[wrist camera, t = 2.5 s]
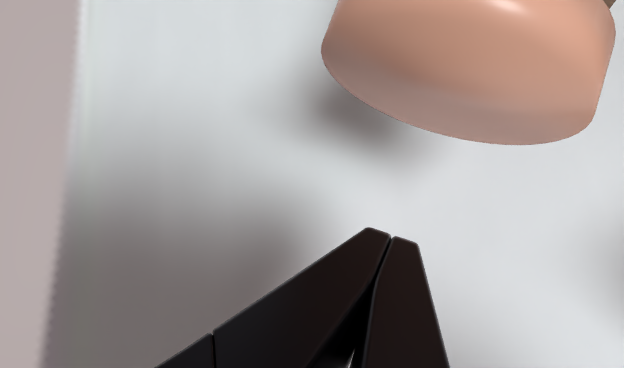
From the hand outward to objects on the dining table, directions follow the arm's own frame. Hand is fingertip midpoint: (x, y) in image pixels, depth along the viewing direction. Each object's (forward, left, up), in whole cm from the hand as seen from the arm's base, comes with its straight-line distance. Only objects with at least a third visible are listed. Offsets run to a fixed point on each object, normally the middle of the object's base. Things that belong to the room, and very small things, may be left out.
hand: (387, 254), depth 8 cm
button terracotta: (+7, +3, -2) cm, 8 cm away
